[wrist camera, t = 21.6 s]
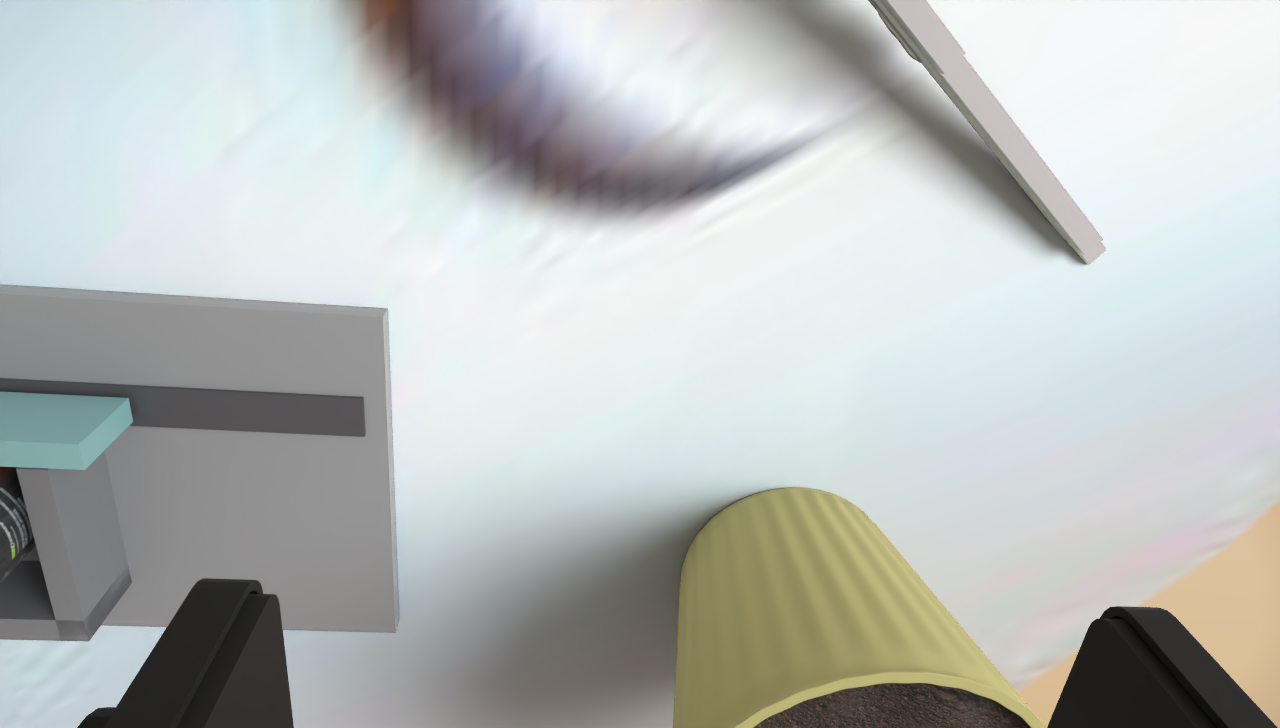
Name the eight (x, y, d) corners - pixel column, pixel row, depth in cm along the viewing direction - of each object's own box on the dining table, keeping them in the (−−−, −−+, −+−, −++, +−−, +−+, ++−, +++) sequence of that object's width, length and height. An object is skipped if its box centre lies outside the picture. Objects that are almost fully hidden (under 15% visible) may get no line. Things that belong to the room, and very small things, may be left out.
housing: (-236, 269, 35) (-358, 314, 30) (387, 308, 37) (360, 354, 33) (-112, 605, 42) (-196, 681, 38) (399, 619, 45) (378, 691, 40)
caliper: (786, -69, 32) (830, -78, 26) (806, -92, 32) (855, -107, 26) (1083, 262, 39) (1169, 312, 33) (1102, 246, 38) (1192, 293, 33)
